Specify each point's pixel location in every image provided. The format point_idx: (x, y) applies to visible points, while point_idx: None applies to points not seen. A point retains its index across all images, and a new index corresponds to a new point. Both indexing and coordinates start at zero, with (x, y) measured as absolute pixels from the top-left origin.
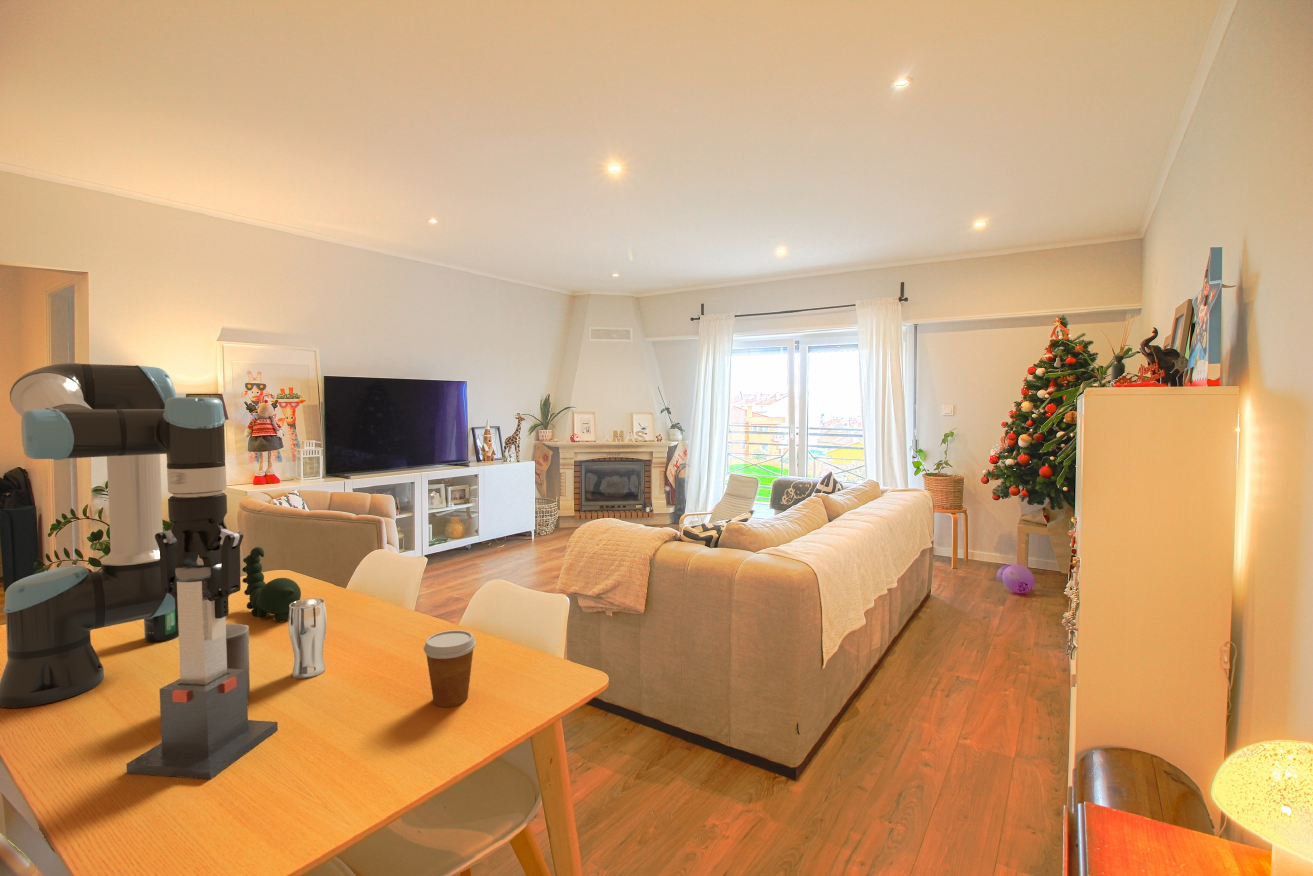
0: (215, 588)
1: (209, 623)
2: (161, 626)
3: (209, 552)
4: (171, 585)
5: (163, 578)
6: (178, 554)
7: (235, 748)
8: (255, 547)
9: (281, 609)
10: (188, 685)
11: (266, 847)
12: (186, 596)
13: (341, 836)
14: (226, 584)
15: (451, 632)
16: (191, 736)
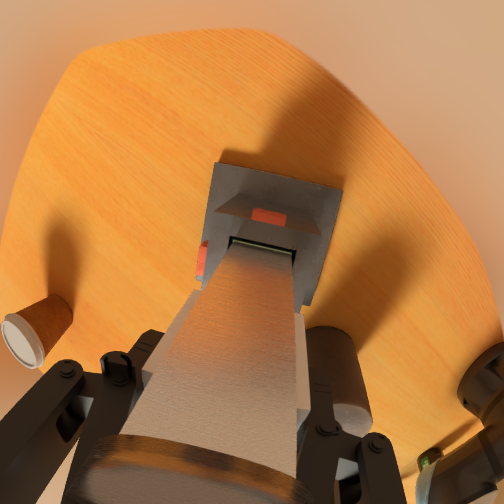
0: (96, 400)
1: (185, 318)
2: (431, 461)
3: None
4: (358, 469)
5: (390, 490)
6: None
7: (212, 214)
8: None
9: (332, 493)
10: (272, 248)
11: (104, 62)
12: (243, 399)
13: (59, 85)
14: (40, 389)
15: (29, 365)
16: (259, 204)
